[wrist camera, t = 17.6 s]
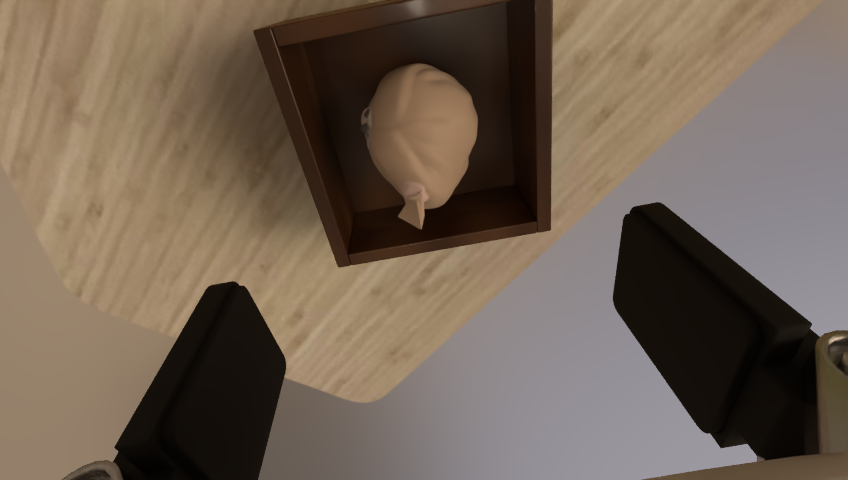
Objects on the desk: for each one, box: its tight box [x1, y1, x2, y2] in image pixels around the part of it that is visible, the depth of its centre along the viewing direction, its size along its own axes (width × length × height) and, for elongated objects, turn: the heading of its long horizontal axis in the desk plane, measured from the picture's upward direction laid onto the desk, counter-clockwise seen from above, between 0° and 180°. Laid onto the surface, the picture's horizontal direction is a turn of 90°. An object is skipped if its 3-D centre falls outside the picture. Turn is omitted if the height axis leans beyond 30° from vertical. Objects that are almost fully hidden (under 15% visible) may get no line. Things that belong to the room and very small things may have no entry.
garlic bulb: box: [361, 63, 478, 230], centre depth 20 cm, size 7×6×8 cm
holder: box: [254, 0, 553, 267], centre depth 22 cm, size 13×13×6 cm
